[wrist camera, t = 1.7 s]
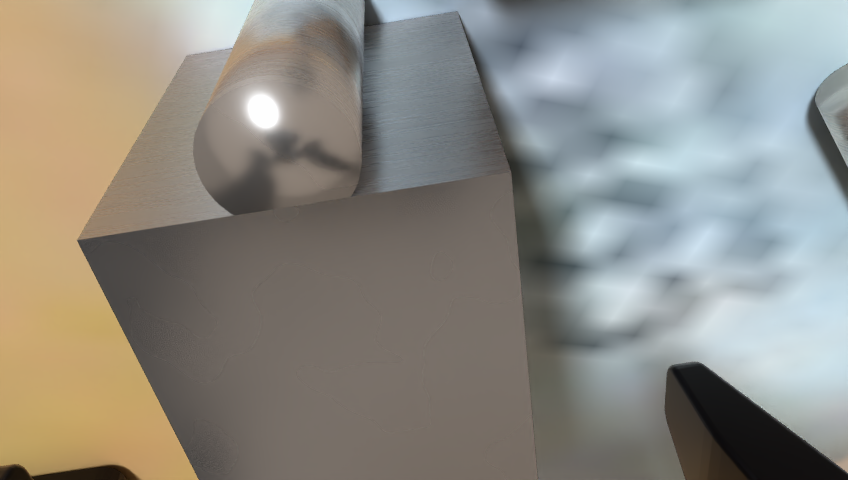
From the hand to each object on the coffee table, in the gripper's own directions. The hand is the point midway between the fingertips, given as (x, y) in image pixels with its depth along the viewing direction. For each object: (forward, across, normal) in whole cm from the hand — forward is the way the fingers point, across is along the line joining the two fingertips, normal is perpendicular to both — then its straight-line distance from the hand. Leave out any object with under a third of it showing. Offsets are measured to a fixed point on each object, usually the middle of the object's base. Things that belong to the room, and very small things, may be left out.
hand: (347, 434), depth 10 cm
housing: (+6, 0, 0) cm, 6 cm away
